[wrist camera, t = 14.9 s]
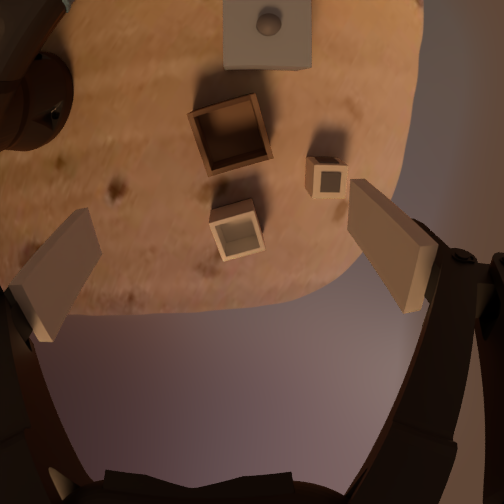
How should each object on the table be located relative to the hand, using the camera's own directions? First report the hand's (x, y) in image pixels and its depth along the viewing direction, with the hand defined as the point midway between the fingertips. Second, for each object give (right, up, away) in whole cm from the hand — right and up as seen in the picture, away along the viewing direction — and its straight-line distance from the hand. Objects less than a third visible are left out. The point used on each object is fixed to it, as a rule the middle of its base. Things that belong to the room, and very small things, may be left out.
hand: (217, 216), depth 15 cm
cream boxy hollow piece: (+11, +9, +27) cm, 31 cm away
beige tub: (0, +3, +30) cm, 30 cm away
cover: (+3, +25, +17) cm, 30 cm away
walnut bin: (-1, +14, +23) cm, 27 cm away
